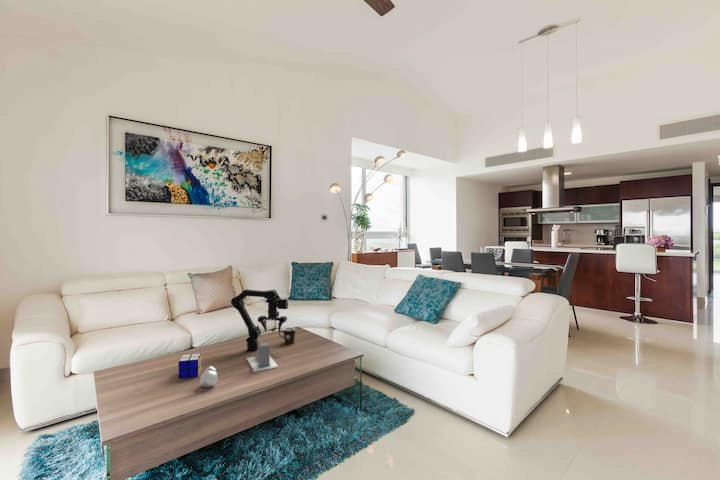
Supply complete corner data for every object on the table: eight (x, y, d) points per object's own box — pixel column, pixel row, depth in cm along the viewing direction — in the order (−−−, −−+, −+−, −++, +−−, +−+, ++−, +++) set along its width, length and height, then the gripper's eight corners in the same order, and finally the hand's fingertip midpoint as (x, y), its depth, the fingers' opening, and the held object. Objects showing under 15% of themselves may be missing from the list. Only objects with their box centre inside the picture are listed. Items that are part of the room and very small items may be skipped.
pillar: (259, 364, 209) (259, 343, 208) (267, 362, 211) (267, 342, 211) (261, 367, 204) (261, 346, 204) (269, 365, 207) (269, 345, 206)
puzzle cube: (178, 379, 190) (178, 361, 190) (182, 371, 200) (182, 354, 199) (198, 377, 193) (198, 359, 193) (201, 370, 202) (201, 353, 202)
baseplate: (246, 359, 219) (246, 354, 219) (268, 355, 226) (268, 350, 226) (254, 372, 200) (254, 366, 200) (278, 367, 207) (278, 361, 207)
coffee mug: (297, 342, 253) (297, 328, 253) (289, 345, 246) (289, 331, 245) (286, 339, 259) (286, 326, 259) (277, 342, 252) (277, 329, 252)
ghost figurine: (222, 384, 184) (222, 366, 184) (207, 391, 176) (206, 372, 175) (211, 380, 189) (211, 362, 188) (196, 387, 180) (195, 368, 180)
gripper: (289, 306, 242) (289, 328, 243) (263, 305, 244) (263, 327, 244) (284, 310, 231) (284, 333, 232) (257, 309, 233) (257, 332, 233)
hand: (272, 331), depth 236 cm, fingers open, 9 cm apart
